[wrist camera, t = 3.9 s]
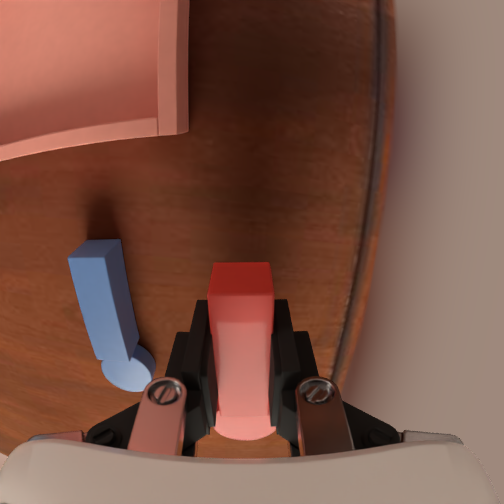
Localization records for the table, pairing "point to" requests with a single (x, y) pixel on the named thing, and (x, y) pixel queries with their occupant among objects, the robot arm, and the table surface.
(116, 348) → the blue spoon
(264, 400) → the red spoon
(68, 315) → the table surface
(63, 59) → the red tray
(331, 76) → the table surface
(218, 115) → the table surface
